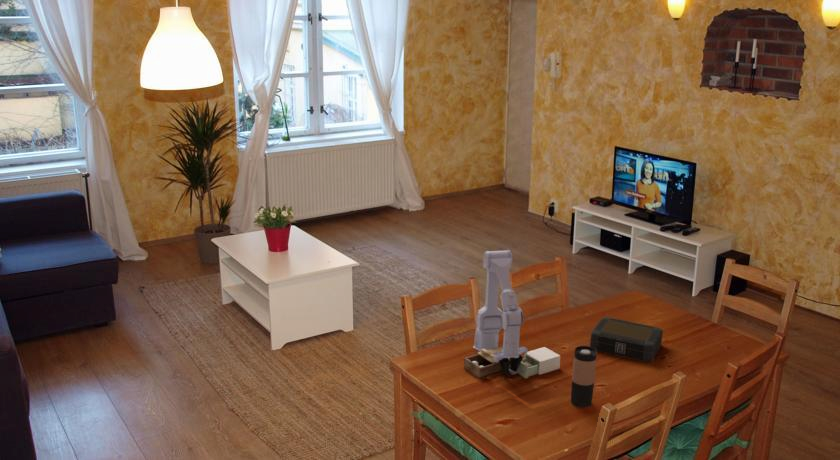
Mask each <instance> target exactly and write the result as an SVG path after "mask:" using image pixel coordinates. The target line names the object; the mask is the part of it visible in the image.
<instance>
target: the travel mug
mask: <svg viewBox="0 0 840 460" xmlns="http://www.w3.org/2000/svg"><path fill="white" fill-rule="evenodd" d="M597 354H598V351H596V350H595V349H594V348H592V347H590V346H587V345H580V346H579V345H578V346H576V347H575V349H574V354H573V365H572V376H571V390H570V391H571V393H570V403H571V404H572V405H573V406H575V407H577V408H581V409H583V408H589V407H591V405H592V403H593V396H594V395H593V394H594V388H595V380H596V379H595V377H596V368H597V367H596V366H597Z"/></svg>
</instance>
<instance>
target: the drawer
mask: <svg viewBox="0 0 840 460" xmlns="http://www.w3.org/2000/svg"><path fill="white" fill-rule="evenodd" d="M524 362H528V363H529V364H531V365H532V366H531V367H529V366H528V365H527V364H525V363H524ZM538 372H539V362H537V361H536V360H534V359H532V358H530V357H528V358H524V357H523V360H522V361H521V362H520V364H519V366H518V368H517V371H515V372H514V371H512V370H510V367H509V374H511V375H512V376H514V374H515V375H516V374H517V375H520V376H522V377H523V378H524V379H528V378H529V377H531V376H534V375H539V374H538Z"/></svg>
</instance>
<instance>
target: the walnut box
mask: <svg viewBox="0 0 840 460" xmlns="http://www.w3.org/2000/svg"><path fill="white" fill-rule="evenodd" d="M472 361H477V362H478V364H479V363H484V362H486V361H488V360H486V359H485V358H483V357H481V356H480V355H478V353H477V354H474V355H471V356H470V355H469V356H466V357H464V358H463V368H464V369H465V370H466V371H468V372H470V373H471V374H472V375H474V376H475V377H477V378H478V379H483V378H487V377H488V375H490V374H493V373H497V372H500V371H501V372H502V368H501V365H500V363H496V364H493V363H491V364H488V365H485V366H484V365H483V366H484V367H480V366H481V365H479V366H478V365H476V364H475V363H473V362H472Z"/></svg>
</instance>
